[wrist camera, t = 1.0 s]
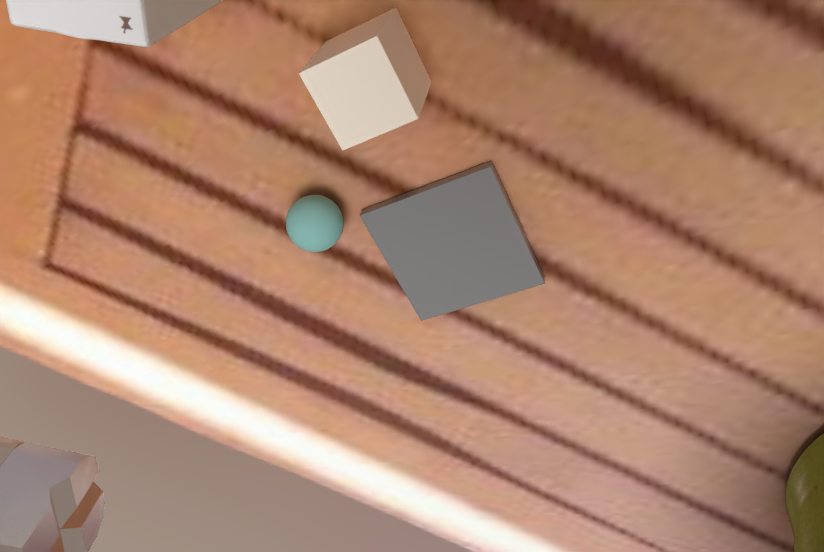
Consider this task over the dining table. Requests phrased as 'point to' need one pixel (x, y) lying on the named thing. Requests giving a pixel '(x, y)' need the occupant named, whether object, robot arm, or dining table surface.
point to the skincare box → (108, 18)
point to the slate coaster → (454, 242)
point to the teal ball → (314, 223)
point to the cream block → (368, 80)
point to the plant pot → (807, 498)
